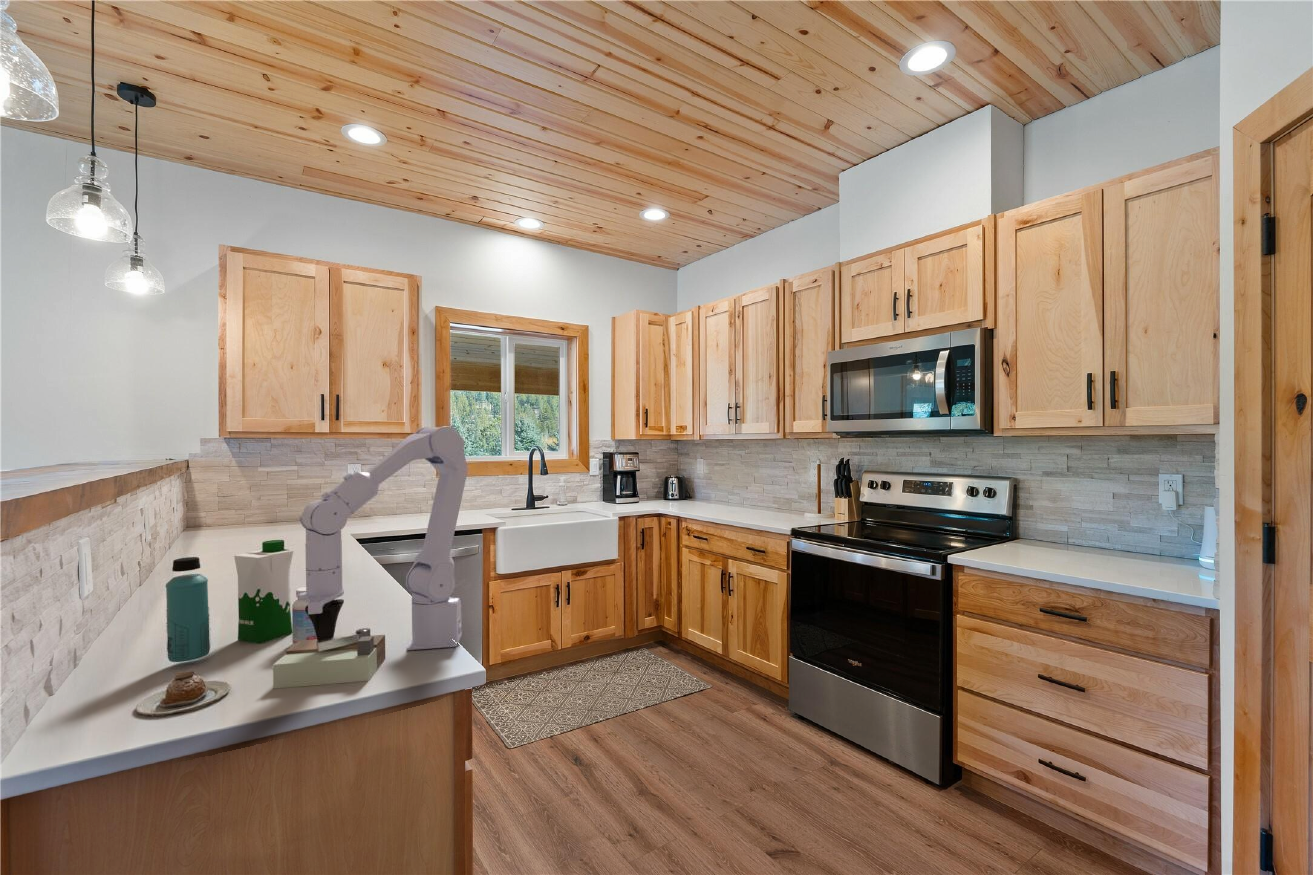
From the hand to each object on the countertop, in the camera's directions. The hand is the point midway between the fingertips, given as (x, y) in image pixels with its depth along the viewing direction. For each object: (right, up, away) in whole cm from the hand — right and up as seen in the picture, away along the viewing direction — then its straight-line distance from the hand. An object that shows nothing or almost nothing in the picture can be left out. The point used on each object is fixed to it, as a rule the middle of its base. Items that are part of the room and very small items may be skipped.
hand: (325, 643), depth 107 cm
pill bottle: (-12, -6, +16) cm, 21 cm away
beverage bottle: (-28, -6, +5) cm, 29 cm away
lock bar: (+3, 0, +1) cm, 3 cm away
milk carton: (-24, -6, +20) cm, 32 cm away
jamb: (+1, -5, +2) cm, 6 cm away
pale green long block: (+2, -5, -3) cm, 6 cm away
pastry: (-17, -6, -11) cm, 21 cm away
